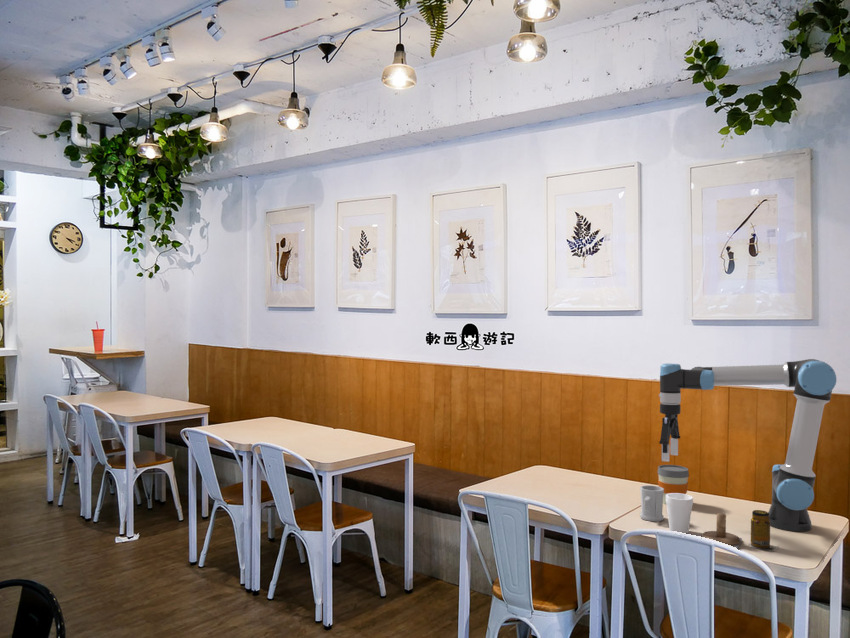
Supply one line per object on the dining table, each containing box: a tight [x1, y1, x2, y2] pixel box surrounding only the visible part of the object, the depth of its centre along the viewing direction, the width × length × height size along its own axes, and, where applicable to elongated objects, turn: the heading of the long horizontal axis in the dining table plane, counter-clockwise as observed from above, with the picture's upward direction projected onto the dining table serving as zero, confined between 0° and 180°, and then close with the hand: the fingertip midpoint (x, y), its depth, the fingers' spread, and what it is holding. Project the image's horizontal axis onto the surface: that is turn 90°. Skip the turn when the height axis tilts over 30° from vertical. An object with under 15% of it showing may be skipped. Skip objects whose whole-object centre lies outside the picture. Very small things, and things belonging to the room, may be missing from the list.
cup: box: [639, 484, 664, 522], centre depth 264 cm, size 10×9×12 cm
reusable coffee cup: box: [657, 464, 690, 506], centre depth 287 cm, size 13×13×15 cm
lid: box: [702, 512, 741, 546], centre depth 238 cm, size 12×12×9 cm
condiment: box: [746, 509, 779, 552], centre depth 234 cm, size 7×8×12 cm
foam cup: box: [665, 493, 694, 534], centre depth 249 cm, size 10×9×13 cm
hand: (669, 458), depth 262 cm, fingers open, 13 cm apart
